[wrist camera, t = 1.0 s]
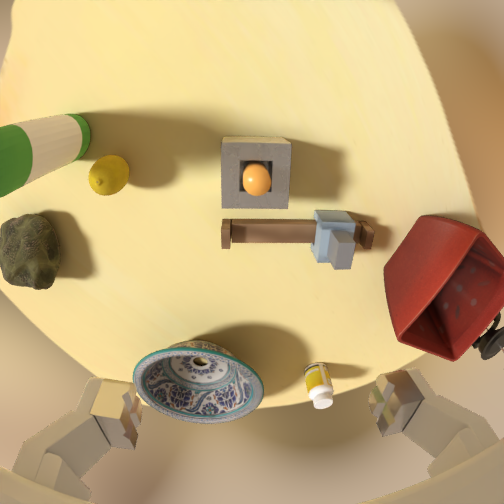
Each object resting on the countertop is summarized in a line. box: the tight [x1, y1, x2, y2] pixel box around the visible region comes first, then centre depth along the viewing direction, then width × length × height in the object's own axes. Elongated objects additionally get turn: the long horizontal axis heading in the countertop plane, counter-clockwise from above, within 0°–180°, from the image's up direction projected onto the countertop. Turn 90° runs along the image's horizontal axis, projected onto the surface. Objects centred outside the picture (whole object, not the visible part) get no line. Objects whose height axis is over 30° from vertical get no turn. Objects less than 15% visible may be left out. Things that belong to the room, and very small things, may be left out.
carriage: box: [311, 210, 356, 270], centre depth 42 cm, size 6×5×9 cm
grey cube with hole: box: [221, 136, 292, 209], centre depth 37 cm, size 8×8×8 cm
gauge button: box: [243, 161, 271, 196], centre depth 33 cm, size 3×3×5 cm
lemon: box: [89, 155, 129, 196], centre depth 36 cm, size 6×6×8 cm
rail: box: [221, 219, 375, 249], centre depth 44 cm, size 3×23×4 cm, turn 89°
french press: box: [472, 312, 504, 360], centre depth 45 cm, size 12×9×23 cm
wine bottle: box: [0, 114, 90, 197], centre depth 24 cm, size 8×8×30 cm
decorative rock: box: [0, 214, 60, 290], centre depth 40 cm, size 15×16×10 cm
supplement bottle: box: [304, 363, 333, 409], centre depth 58 cm, size 5×5×10 cm
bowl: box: [133, 340, 264, 424], centre depth 54 cm, size 25×25×10 cm
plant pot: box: [384, 215, 504, 362], centre depth 42 cm, size 19×19×17 cm
